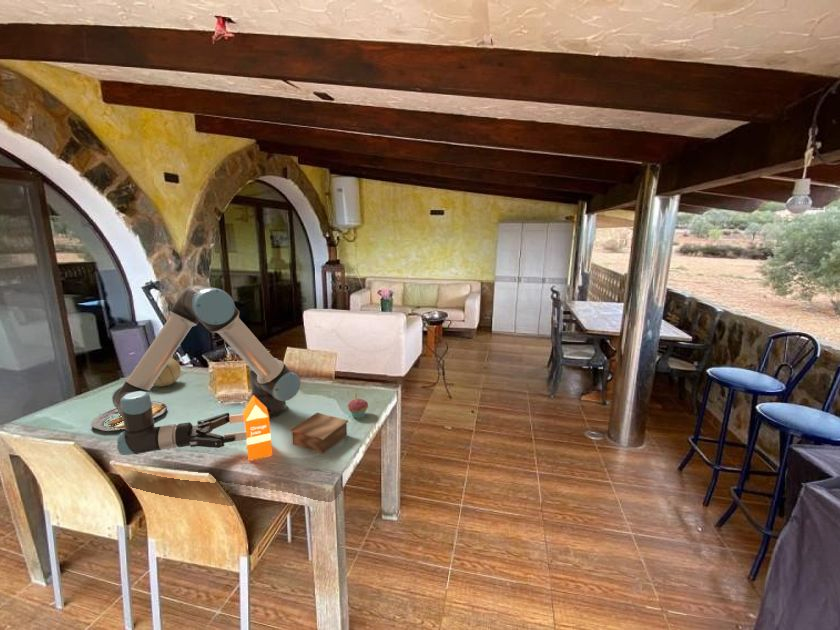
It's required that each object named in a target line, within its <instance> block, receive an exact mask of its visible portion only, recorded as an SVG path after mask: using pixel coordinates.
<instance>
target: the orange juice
mask: <svg viewBox="0 0 840 630" xmlns="http://www.w3.org/2000/svg"><path fill="white" fill-rule="evenodd" d="M242 414H244V431H246V434H247V440H246V449H247V450H246V452H247V457H248V461H249V460H251V459H256V460H258V459H257V458H260V459H262V458H261V457H264V458H268V457H271V456H270V455H272V456H273V450H272V435H271V424H270V418H269V415H268V411H267V408H266V407H265V406H264V405H263V404H262V403H261V402H260V401H259V400H258V399H257V398H256V397H255V396H254V395H253V397H252V396H251V398H250V400H249V402H248V403H247V405H246V407H245V408H244V409H243V411H242ZM267 456H268V457H267ZM251 461H252V460H251Z"/></svg>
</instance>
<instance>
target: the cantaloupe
mask: <svg viewBox="0 0 840 630" xmlns="http://www.w3.org/2000/svg"><path fill="white" fill-rule="evenodd" d="M181 374H182V370H181V366H180V364H179V363H178V362H177V360H175V359H174V358H172V357H171V359H170V360H169V362H168V363H167V365H166V366H165V368H164V369H163V371H162V372H161V374H160V375H159V377H158V378H157V380H156V381H155V383H154V384H153V386H155V387H168V386H171V385H172V384H174V383H175V382H176V381H178V379H179V378H180V376H181Z"/></svg>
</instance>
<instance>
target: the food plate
mask: <svg viewBox="0 0 840 630" xmlns="http://www.w3.org/2000/svg"><path fill="white" fill-rule="evenodd" d="M151 401H152V412H153V419H155V418H157V417H159V416H161V415H163V414H164V413H165V412H166V411H167V408H168V406H167V405H166V404H165V403H163V402H160V401H156V400H151ZM118 413H119V414H120V412H119V411H118V409H117V408H116V407H115V408H113V409H111V410H109V411H105V412H104V413H101V414H99V415H98V416H96V417H95V418H93V420H92V421H91V424H90V425H91V427H92V428H94V429H96V430H101V431H106V432H109V431H119V430H120V429H122V430H125V426H124V422H123V423H121V424H117V423H120V422H122V421H123V417H119V418H117V419H116V418H114V419H115V420H113V419H112V421H108V422H107V425H106V426H104V422H105V421H106V420H107V419H109V418H110V416H111V417H113V415H114V414H116V415H117V414H118ZM120 416H122V415H121V414H120ZM108 423H109V424H108ZM115 424H117V425H115ZM108 425H111V426H112V425H115V426H112V427H109V426H108ZM108 427H109V428H108ZM115 428H117V429H115ZM120 431H121V430H120Z"/></svg>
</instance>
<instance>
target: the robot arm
mask: <svg viewBox="0 0 840 630" xmlns="http://www.w3.org/2000/svg"><path fill="white" fill-rule="evenodd" d="M199 323H200V324H202V325H203V326H204V327H205V329H207V330H208V331H209V332H210V333H212V334H213V333H217V334H218V335H219V336H220V338H222V339H223V341H225V343H226V344H227V345H229V347H230V348H231V349H232V350H233V351H234V352H235V353H236V354H237V355H238V356H239V357H240V358H241V359H242V361H243V362H244V363H245V364H246V365H247V366H248V367H249V376H250V377H249V378H250V387H251V398H252V397H253V395H254V396H255V397H256V398H257V399H258V400H259V401H260V402H261V403H262V404H263V405H264V406H265V407H266V408H267V411H268V415H269V419H270V418H274V417H278V416H280V415H282V414H283V413H284V412H286V410H287V402H286V401H290V400H292V399H293V398H294V397H295V396H296V395H297V394H298V393H299V391H300V389H301V388H300V387H301V382H302V381H301V378H300V377H299V375H298V374H297V373H295V372H293V371H292V370H290V368H288V366H287V365H286V364H285V363H284V362H283V360H279V359H278V358H276V357H274V356H273V355H272V354H271V353H270V352H269V351H268V349H267V348H266V347H265V346H264V345H263V344H262V342H260V341H259V339H258V338H257V337H256V336H255V334H254V333H253V332H252V331H251V330H250V328H248V326H247V325H246V324H245V323H244V322H243V321H242V320H241V318H240V310H239V309H238V308H237V307H236V305H235V302H234V299H233V297H232V296H231V295H230V294H229V293H228V292H227V291H225V290H223V289H221V288H218V287H212V286H208V285H206V284H205V285H204V284H195V285H192V286H189V287H188V288H186V289H185V290H184V291H183V292H182V293H181V294H180V296H179V297H178V299H177V300H176V302H175V303H174V304H173V306H172V307H171V309H170V310H169V317H168V319H167V321H166V322H165V323H164V325H163V326H162V328H161V329H160V331H159V332H158V334H157V335H156V337H154V339H153V341H152V342H151V344H150V345H149V347H148V348H147V349H146V351H145V353H144V354H143V356H142V357H141V358H140V360H139V362H138V363H137V364H136V366H135V368H134V369H133V370H132V372H131V373H130V374H129V376H128V378H127V379H126V380H125V381H124V383H123V385H120V386H119V387H117V388H116V389H115V390H114V391H113V392H112V395H111V399H112V403H113V404H112V405H113V406H114V407H115V409H116V408H117V409H118V411H119V412H120V414H121V415H122V417H123V421H124V426H125V429H124V431H122V432H120V433H119V435H118V437H117V441H116V442H117V443H116V448H117V451H118V453H119V454H120V455H121V456H131V455H140V454H146V453H150V452H151V453H153V452H157V451H164V450H171V449H176V448H184V447H190V448H196V447H200V448H202V447H203V448H212V449H213V448H214V449H220V448H223V447H224V446H225V443H226V444H227V443H231V442H232V443H233V442H239V441H245V440H247V434H246V431H245V430H244V431H243V430H242V431H237V432H231V433H225V434H224V433H223V435H221V434H217V433H212V432H213V430H215V429H217V428H219V427H221V426H222V427H223V426H224V425H226V424H228V423H229V424H235V423H242V422H243V423H245V421H244V414H243V413H238V414H230V412H224V413H221V414H218V415H215V416H212V417H208V418H205V419H200V420H198V421H197V423H196V424H197V425H193V424H192V423H191V422H183V423H182V422H181V423H178V424H176V423H175V424H174V423H173V424H166V425H160V426H155V421H154V420H155V418H153V412H152V401H153V400H151V395H150V393H149V392H150V390H151V389H152V387H153V386H154V385H153V384H154V383H155V381H156V380H157V378H158V377H159V375H160V374H161V372H162V371H163V369H164V368H165V366H166V365H167V363H168V362H169V360H170V359H171V358H172V357H173V355H174V354H175V353H176V352H177V350H178V349H179V347H180V345H181V343H182V342H183V341H184V339H185V338H186V336H187V335H188V333H189V332H190V330H191V329H192V327H195V326H197V325H198V324H199Z"/></svg>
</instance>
